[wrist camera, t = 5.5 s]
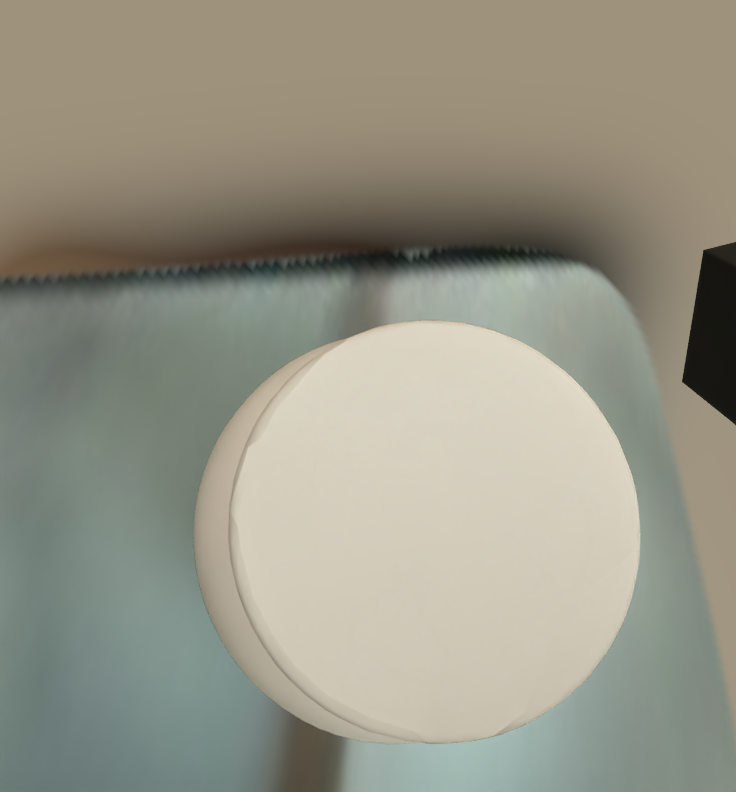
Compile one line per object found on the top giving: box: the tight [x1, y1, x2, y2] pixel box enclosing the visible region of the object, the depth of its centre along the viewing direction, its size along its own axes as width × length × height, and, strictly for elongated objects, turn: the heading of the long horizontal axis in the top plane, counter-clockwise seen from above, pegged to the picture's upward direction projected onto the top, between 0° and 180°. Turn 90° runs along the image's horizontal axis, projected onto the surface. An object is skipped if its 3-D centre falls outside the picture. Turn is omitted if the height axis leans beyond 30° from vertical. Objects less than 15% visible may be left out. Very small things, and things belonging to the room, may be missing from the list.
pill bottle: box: [194, 320, 641, 744], centre depth 11 cm, size 5×5×10 cm
